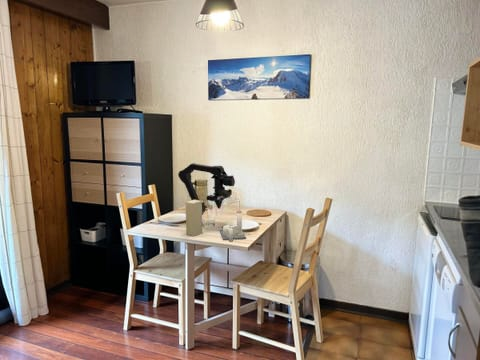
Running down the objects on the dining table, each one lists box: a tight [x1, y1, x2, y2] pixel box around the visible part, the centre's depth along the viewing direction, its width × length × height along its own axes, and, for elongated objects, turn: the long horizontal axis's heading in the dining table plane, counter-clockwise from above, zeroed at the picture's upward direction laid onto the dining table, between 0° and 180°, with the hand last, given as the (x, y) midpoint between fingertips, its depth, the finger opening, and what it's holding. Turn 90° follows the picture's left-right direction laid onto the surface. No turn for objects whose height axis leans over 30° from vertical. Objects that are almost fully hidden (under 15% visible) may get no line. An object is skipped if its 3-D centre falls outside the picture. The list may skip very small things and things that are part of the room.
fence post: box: [229, 209, 243, 234], centre depth 214 cm, size 8×3×15 cm, turn 117°
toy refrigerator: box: [185, 199, 203, 237], centre depth 218 cm, size 8×7×21 cm
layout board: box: [219, 229, 247, 241], centre depth 217 cm, size 16×14×1 cm
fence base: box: [222, 224, 234, 243], centre depth 210 cm, size 10×4×8 cm, turn 25°
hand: (219, 208), depth 229 cm, fingers closed
